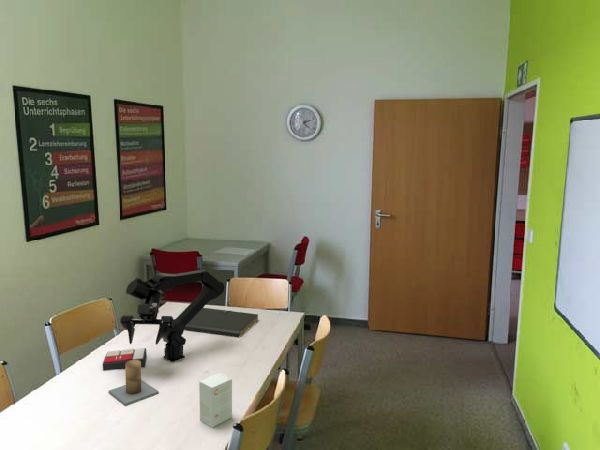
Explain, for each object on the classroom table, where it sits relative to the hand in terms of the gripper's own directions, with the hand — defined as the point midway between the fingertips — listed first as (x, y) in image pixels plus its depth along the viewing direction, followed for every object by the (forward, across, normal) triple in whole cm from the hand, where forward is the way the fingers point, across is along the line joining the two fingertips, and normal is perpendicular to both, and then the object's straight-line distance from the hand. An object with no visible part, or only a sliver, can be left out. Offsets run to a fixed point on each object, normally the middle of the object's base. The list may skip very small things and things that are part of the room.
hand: (143, 344), depth 173 cm
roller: (+16, -1, +2) cm, 16 cm away
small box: (+28, +30, -8) cm, 41 cm away
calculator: (0, -11, +20) cm, 23 cm away
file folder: (-31, +18, +51) cm, 62 cm away
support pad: (+17, -1, +3) cm, 17 cm away
